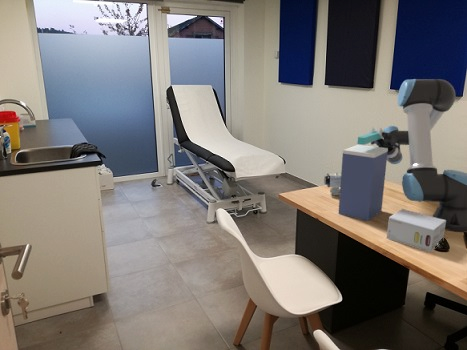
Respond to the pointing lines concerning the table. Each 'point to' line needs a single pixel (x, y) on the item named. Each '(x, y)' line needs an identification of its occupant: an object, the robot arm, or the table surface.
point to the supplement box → (416, 229)
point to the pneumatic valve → (333, 183)
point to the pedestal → (362, 181)
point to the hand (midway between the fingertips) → (375, 130)
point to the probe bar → (368, 138)
